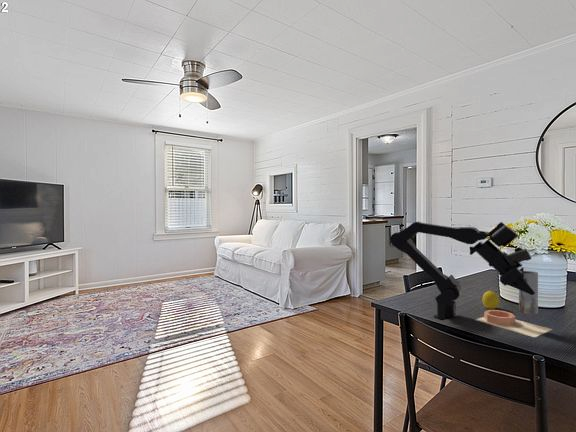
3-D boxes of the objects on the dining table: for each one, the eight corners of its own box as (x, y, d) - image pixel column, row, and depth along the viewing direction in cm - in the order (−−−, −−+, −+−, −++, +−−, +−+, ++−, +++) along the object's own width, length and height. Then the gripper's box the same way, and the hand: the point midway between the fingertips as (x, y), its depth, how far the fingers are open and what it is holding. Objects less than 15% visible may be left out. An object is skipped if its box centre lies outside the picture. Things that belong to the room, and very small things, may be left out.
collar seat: (506, 327, 108) (505, 319, 108) (480, 319, 115) (480, 312, 115) (519, 322, 112) (519, 315, 112) (493, 315, 119) (493, 308, 119)
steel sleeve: (533, 315, 102) (533, 274, 102) (515, 310, 107) (515, 271, 106) (540, 312, 105) (541, 272, 104) (523, 308, 109) (523, 270, 109)
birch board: (534, 340, 99) (534, 337, 99) (474, 322, 115) (474, 319, 115) (552, 332, 105) (552, 329, 105) (493, 316, 121) (493, 313, 121)
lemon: (479, 309, 129) (479, 289, 129) (489, 307, 131) (489, 288, 131) (492, 313, 124) (492, 292, 124) (502, 311, 126) (502, 291, 126)
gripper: (512, 243, 100) (558, 282, 94) (514, 237, 115) (554, 271, 108) (483, 266, 105) (525, 305, 98) (488, 257, 120) (525, 291, 113)
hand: (533, 292), depth 105 cm, fingers closed on steel sleeve, 5 cm apart
